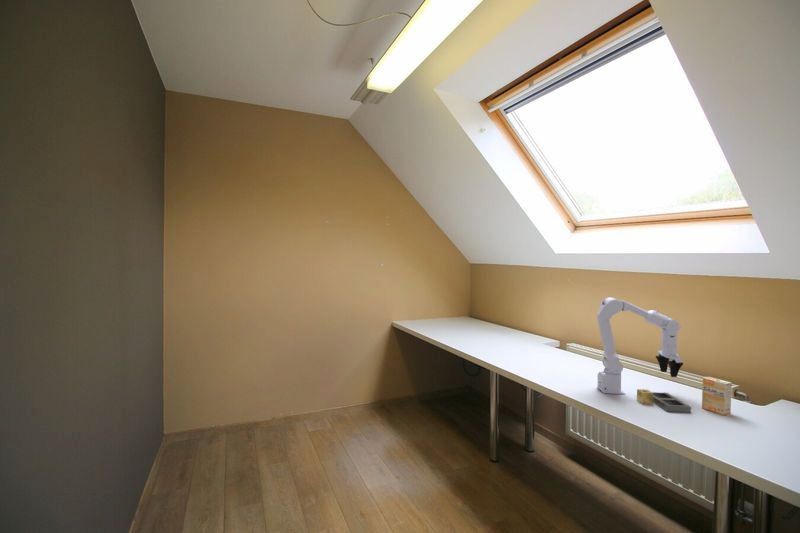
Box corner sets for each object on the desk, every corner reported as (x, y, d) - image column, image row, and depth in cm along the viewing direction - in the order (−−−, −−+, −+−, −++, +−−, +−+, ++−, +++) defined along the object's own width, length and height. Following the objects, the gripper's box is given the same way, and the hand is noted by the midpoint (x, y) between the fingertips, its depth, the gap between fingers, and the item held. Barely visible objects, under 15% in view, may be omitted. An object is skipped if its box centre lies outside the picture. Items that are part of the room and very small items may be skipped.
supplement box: (701, 408, 158) (701, 377, 158) (708, 406, 160) (708, 376, 160) (724, 416, 150) (725, 383, 150) (731, 414, 152) (732, 381, 152)
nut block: (642, 404, 163) (642, 392, 163) (636, 400, 167) (637, 389, 167) (653, 404, 162) (653, 392, 162) (647, 400, 167) (647, 389, 167)
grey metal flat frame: (666, 411, 154) (667, 405, 154) (646, 397, 170) (646, 392, 170) (690, 412, 153) (690, 406, 153) (667, 398, 169) (667, 392, 169)
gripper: (689, 348, 165) (688, 379, 165) (669, 341, 179) (668, 369, 180) (671, 348, 166) (671, 379, 166) (653, 341, 180) (652, 369, 180)
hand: (668, 374), depth 173 cm, fingers open, 7 cm apart
